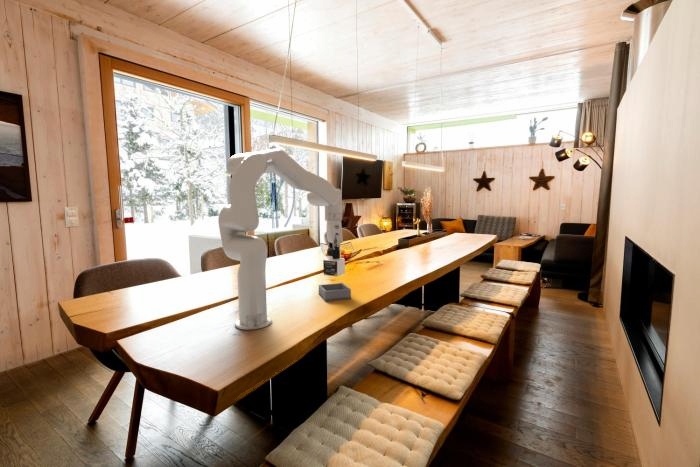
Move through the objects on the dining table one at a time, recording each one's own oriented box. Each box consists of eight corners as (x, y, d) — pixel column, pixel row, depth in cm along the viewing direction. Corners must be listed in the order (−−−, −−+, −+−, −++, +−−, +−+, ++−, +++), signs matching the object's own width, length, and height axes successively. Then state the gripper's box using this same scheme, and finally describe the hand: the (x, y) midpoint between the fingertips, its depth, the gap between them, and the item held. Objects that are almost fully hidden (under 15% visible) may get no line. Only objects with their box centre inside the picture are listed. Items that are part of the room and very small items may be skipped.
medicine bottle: (323, 275, 154) (322, 248, 153) (331, 272, 161) (331, 246, 159) (337, 276, 151) (336, 249, 150) (345, 273, 157) (344, 247, 156)
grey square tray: (350, 298, 153) (350, 288, 153) (325, 301, 150) (325, 291, 149) (342, 292, 164) (342, 282, 164) (318, 294, 161) (318, 284, 160)
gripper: (347, 217, 146) (348, 260, 148) (336, 215, 162) (336, 253, 164) (330, 218, 144) (331, 261, 146) (320, 216, 160) (321, 254, 162)
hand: (334, 257), depth 155 cm, fingers closed on medicine bottle, 6 cm apart
